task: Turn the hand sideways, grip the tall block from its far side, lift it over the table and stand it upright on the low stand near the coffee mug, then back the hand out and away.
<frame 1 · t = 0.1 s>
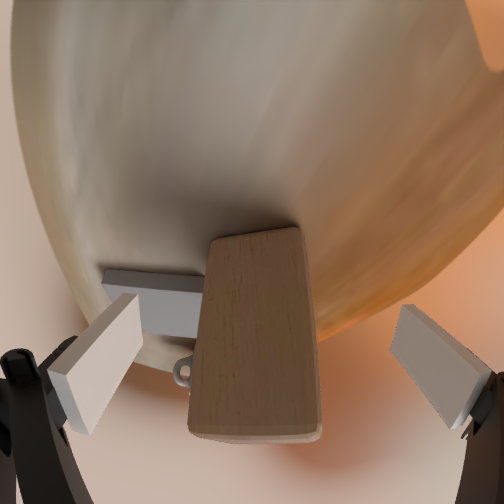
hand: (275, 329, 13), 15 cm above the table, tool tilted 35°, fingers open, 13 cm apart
stand: (162, 301, 41), on the table
block: (263, 258, 33), on the table
coffee mug: (210, 348, 55), on the table
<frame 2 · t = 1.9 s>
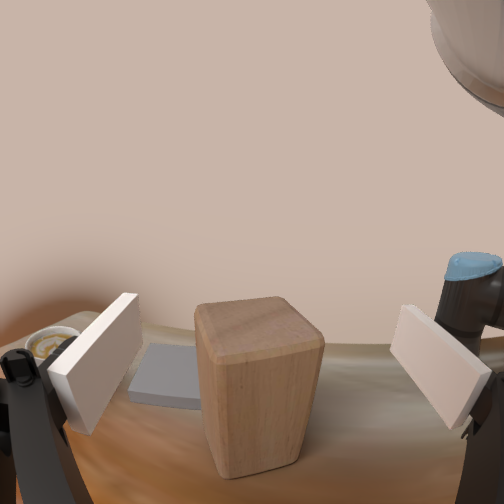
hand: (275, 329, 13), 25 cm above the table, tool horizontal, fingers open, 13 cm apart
stand: (180, 379, 43), on the table
block: (248, 447, 30), on the table
coffee mug: (76, 386, 37), on the table
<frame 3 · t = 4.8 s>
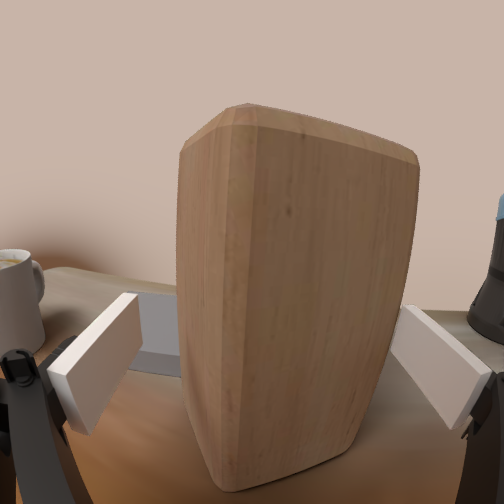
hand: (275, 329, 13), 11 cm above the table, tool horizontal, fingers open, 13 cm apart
stand: (162, 337, 31), on the table
block: (261, 433, 18), on the table, touching gripper
coffee mug: (21, 336, 25), on the table
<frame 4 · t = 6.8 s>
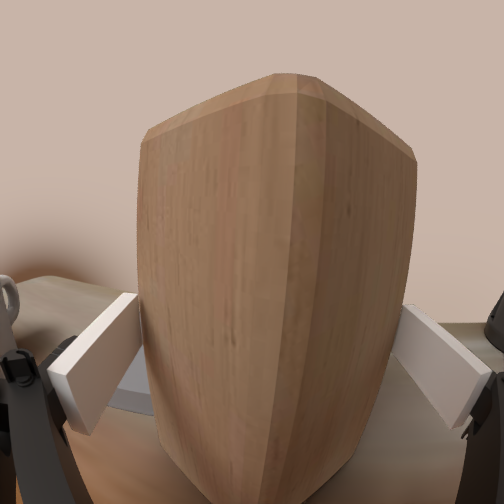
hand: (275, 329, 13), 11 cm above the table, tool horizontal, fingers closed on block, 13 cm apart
stand: (147, 364, 26), on the table
block: (256, 460, 15), on the table, touching gripper
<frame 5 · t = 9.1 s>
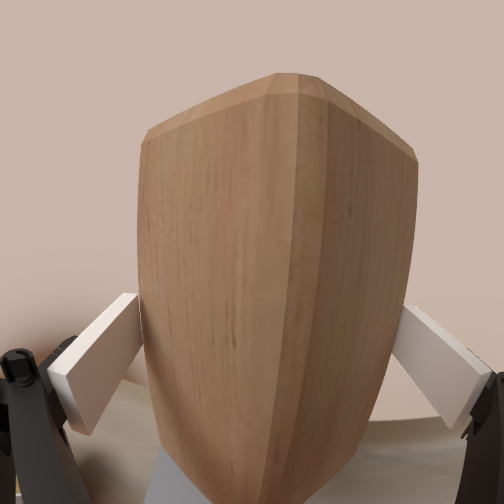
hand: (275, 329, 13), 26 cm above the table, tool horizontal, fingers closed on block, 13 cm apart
stand: (213, 498, 22), on the table
block: (256, 461, 15), point 15 cm above the table, touching gripper
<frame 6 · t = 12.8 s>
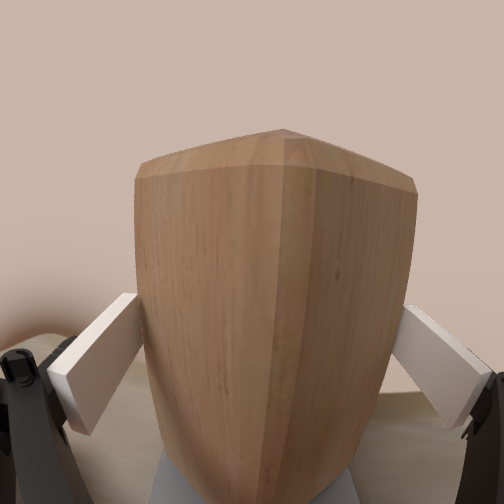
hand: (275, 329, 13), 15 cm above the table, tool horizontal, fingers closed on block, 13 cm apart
block: (256, 469, 16), point 2 cm above the table, touching gripper, stand
when the fingers open (15 cm above the table, at t = 12.9 s): block stays where it is, resting on stand.
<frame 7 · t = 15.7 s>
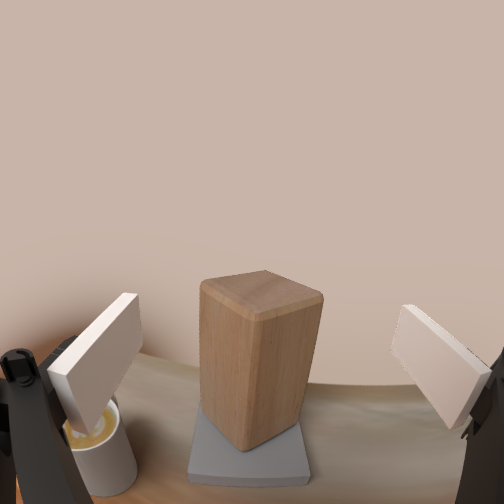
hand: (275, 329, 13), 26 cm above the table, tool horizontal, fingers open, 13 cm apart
stand: (247, 446, 31), on the table
block: (248, 420, 34), point 2 cm above the table, touching stand
coffee mug: (107, 459, 25), on the table
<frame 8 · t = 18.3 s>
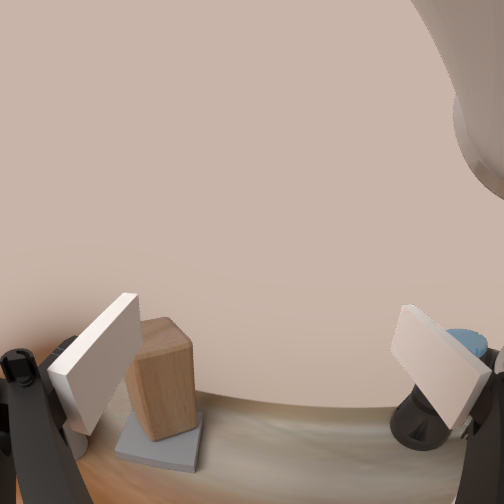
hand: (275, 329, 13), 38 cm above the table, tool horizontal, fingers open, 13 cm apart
stand: (162, 439, 42), on the table
block: (164, 420, 45), point 2 cm above the table, touching stand
coffee mug: (70, 438, 36), on the table
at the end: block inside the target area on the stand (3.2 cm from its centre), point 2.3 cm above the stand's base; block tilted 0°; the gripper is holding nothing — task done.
